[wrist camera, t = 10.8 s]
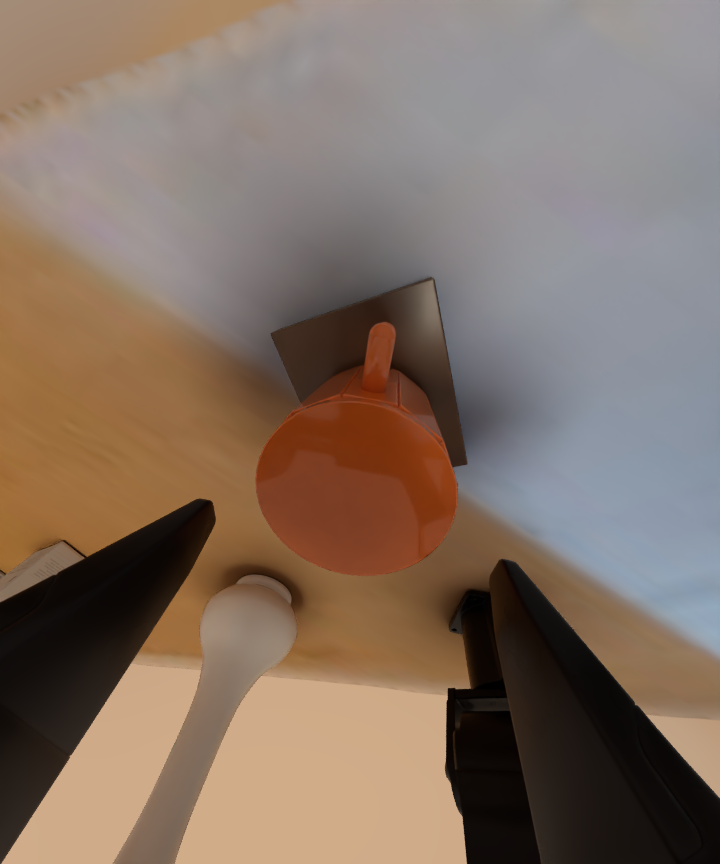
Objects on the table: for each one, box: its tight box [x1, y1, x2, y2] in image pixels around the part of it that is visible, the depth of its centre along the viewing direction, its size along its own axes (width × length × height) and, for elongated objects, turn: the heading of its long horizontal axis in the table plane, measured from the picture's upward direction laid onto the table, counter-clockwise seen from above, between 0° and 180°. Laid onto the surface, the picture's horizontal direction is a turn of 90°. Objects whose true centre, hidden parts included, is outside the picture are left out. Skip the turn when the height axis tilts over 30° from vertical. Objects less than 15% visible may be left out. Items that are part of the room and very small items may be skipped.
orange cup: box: [256, 322, 458, 576], centre depth 13 cm, size 9×7×7 cm
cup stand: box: [271, 277, 467, 467], centre depth 14 cm, size 11×9×9 cm
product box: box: [0, 541, 84, 602], centre depth 31 cm, size 6×6×7 cm
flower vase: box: [113, 574, 298, 864], centre depth 20 cm, size 13×18×25 cm
